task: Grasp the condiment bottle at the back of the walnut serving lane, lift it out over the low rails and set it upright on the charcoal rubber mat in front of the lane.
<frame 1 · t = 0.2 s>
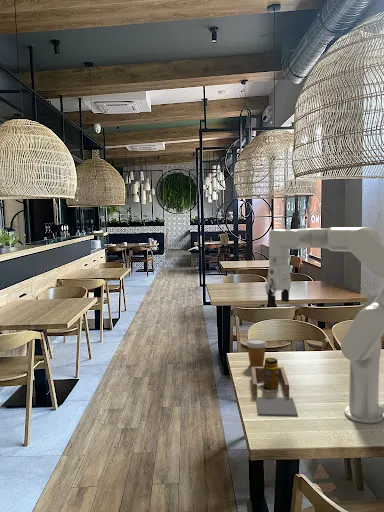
hand: (278, 303, 165), 36 cm above the table, tool pointing down, fingers open, 9 cm apart
disposable coffee cup: (256, 365, 199), on the table
condiment: (269, 388, 173), resting in lane
mat: (275, 406, 155), on the table
lane: (269, 387, 173), on the table
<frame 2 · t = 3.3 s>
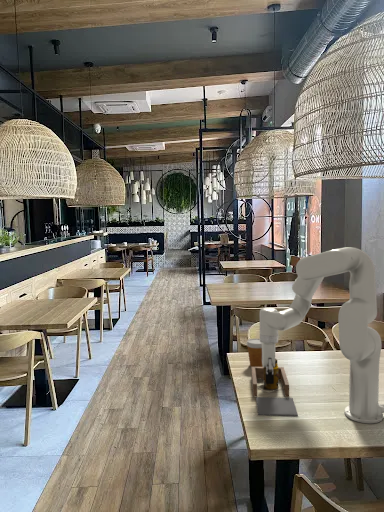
hand: (269, 379, 172), 3 cm above the table, tool pointing down, fingers closed on condiment, 6 cm apart
condiment: (269, 388, 172), resting in lane, touching gripper
everything else where it was.
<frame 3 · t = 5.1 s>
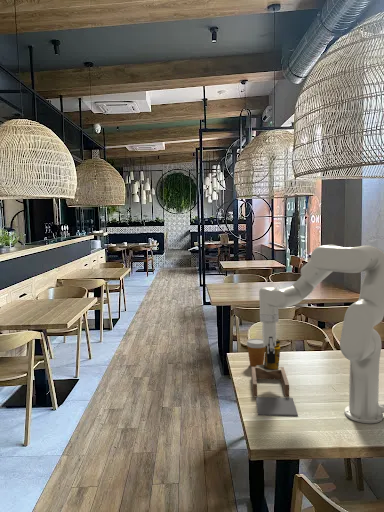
hand: (270, 360, 171), 12 cm above the table, tool pointing down, fingers closed on condiment, 6 cm apart
condiment: (269, 368, 171), point 8 cm above the table, touching gripper
everything else where it was.
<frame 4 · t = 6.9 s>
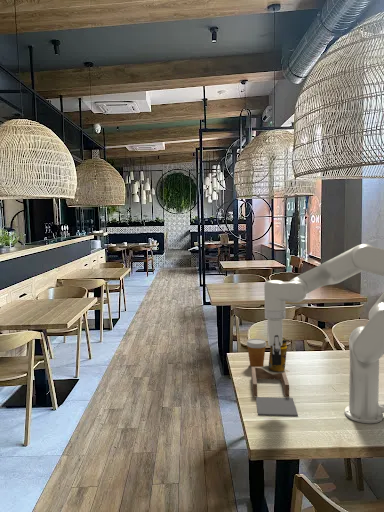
hand: (276, 361, 154), 17 cm above the table, tool pointing down, fingers closed on condiment, 6 cm apart
condiment: (274, 370, 154), point 14 cm above the table, touching gripper
everything else where it was.
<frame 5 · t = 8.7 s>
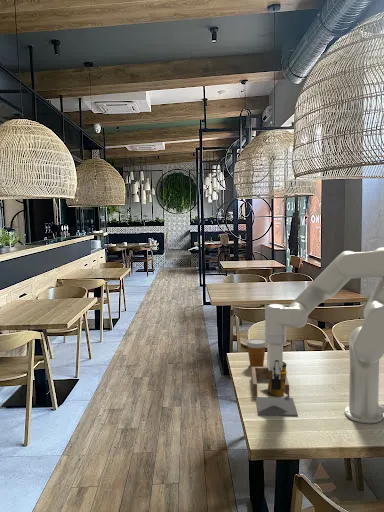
hand: (275, 385, 154), 8 cm above the table, tool pointing down, fingers closed on condiment, 6 cm apart
condiment: (273, 394, 154), point 5 cm above the table, touching gripper
everything else where it was.
when the fingers open (5 cm above the table, at t = 10.3 s): condiment drops 1 cm, resting on mat.
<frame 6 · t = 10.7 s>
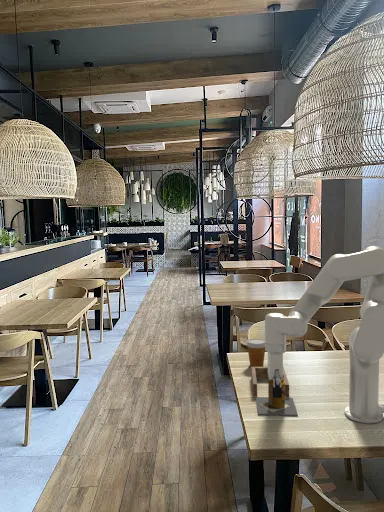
hand: (275, 391, 154), 6 cm above the table, tool pointing down, fingers open, 9 cm apart
condiment: (274, 406, 154), resting on mat
everything else where it was.
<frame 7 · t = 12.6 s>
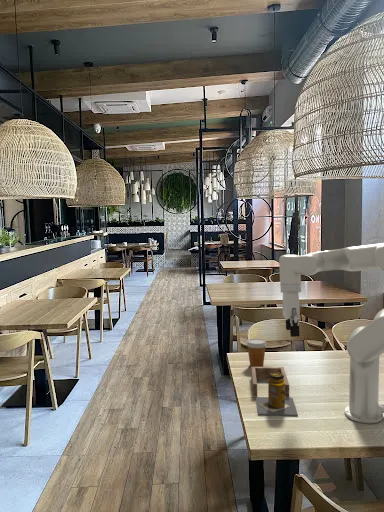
hand: (292, 333, 155), 27 cm above the table, tool pointing down, fingers open, 9 cm apart
nothing on the table moved.
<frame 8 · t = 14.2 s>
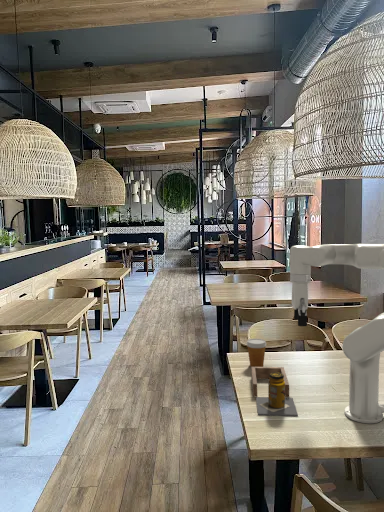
hand: (300, 322, 158), 30 cm above the table, tool pointing down, fingers open, 9 cm apart
nothing on the table moved.
at the end: condiment inside the target area on the mat (0.7 cm from its centre), point 0.4 cm above the mat's base; condiment tilted 0°; the gripper is holding nothing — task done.
